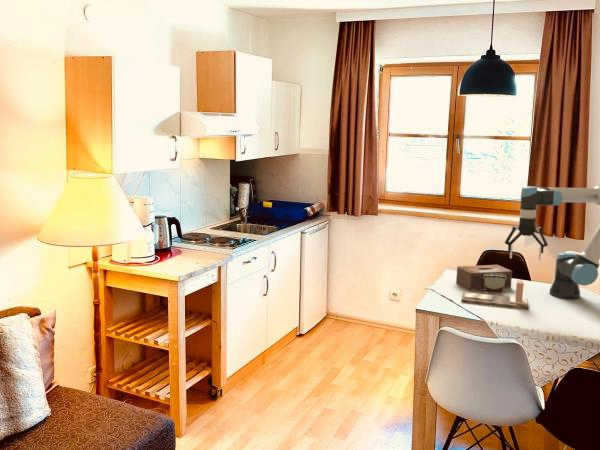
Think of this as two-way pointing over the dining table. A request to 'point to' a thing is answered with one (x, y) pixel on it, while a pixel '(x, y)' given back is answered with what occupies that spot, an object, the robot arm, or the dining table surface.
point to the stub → (519, 294)
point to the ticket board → (491, 300)
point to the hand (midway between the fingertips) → (524, 258)
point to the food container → (494, 282)
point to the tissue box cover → (480, 276)
